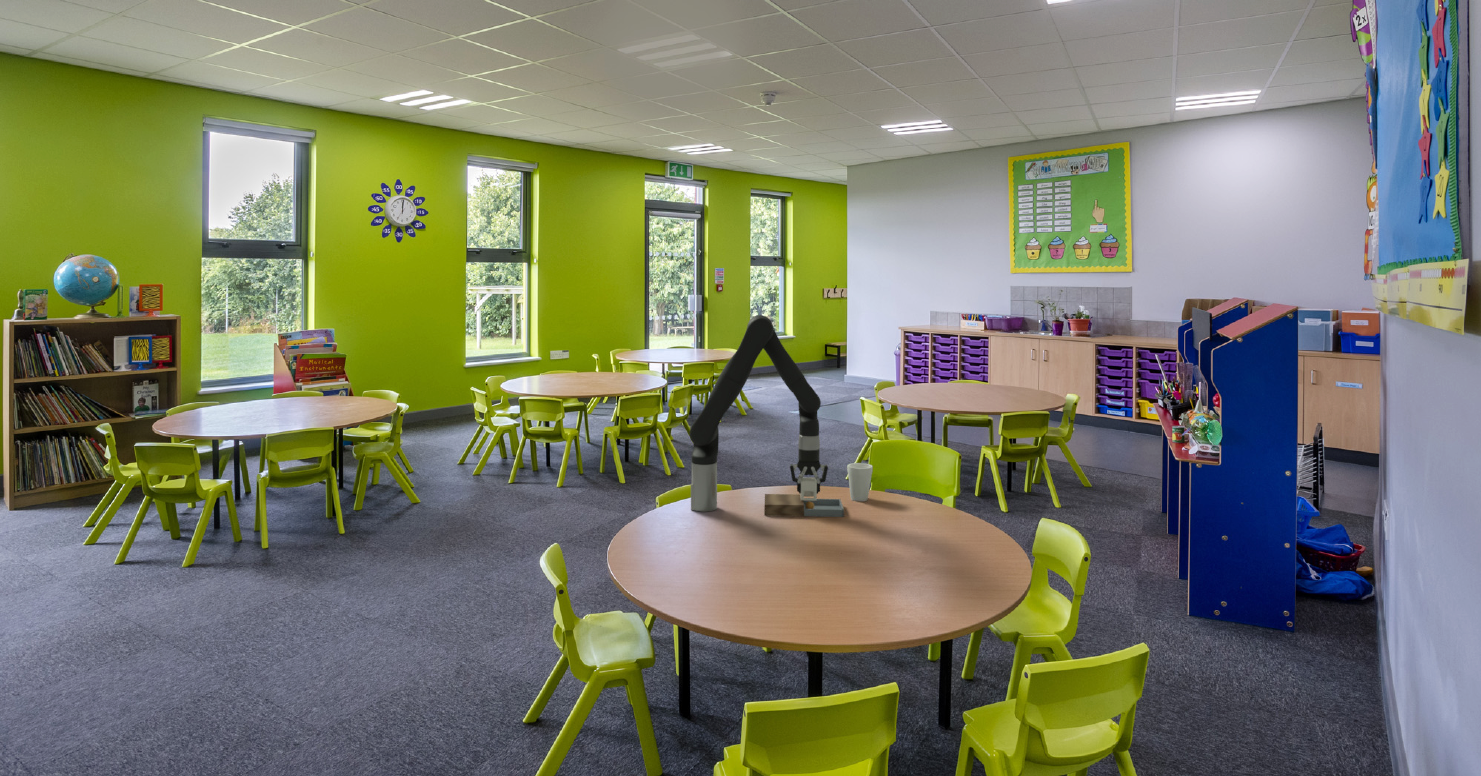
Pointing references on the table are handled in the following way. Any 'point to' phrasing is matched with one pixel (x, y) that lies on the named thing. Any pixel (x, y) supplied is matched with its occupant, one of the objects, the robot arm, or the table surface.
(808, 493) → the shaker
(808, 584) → the table surface
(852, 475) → the foam cup
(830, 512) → the tray
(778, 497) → the platform
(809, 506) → the ball
